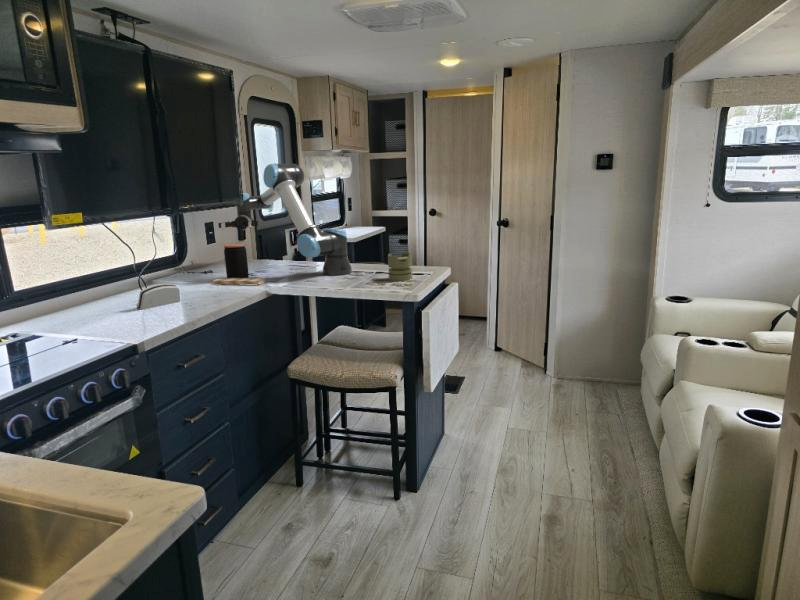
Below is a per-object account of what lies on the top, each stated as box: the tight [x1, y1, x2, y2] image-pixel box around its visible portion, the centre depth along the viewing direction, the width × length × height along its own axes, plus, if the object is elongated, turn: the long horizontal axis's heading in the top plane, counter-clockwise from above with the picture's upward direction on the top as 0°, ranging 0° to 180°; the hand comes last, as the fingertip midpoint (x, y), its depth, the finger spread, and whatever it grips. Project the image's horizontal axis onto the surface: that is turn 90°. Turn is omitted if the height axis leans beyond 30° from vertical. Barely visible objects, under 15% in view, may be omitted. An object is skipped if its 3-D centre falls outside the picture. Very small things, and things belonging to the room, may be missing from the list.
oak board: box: [212, 277, 266, 286], centre depth 257 cm, size 24×7×2 cm, turn 77°
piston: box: [387, 252, 413, 282], centre depth 254 cm, size 11×12×11 cm
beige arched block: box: [136, 283, 181, 311], centre depth 217 cm, size 17×5×10 cm, turn 141°
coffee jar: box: [223, 242, 250, 278], centre depth 266 cm, size 11×11×18 cm
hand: (235, 225), depth 271 cm, fingers open, 13 cm apart
